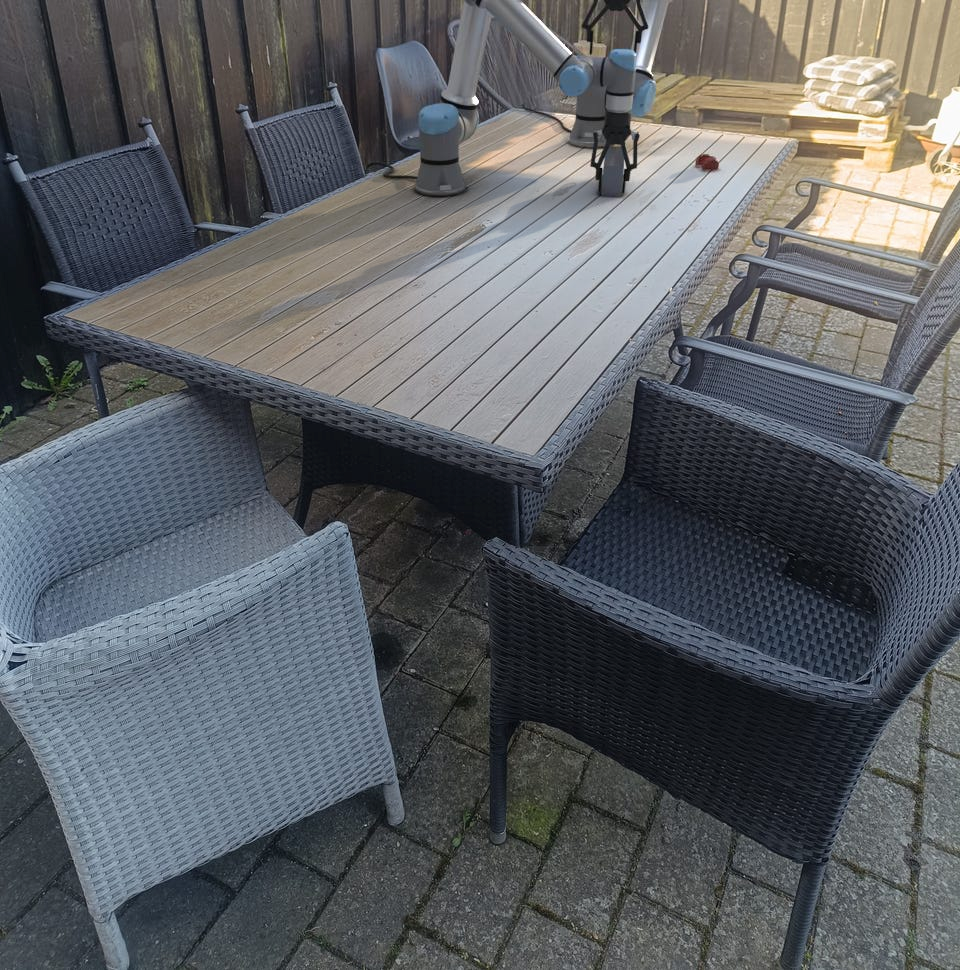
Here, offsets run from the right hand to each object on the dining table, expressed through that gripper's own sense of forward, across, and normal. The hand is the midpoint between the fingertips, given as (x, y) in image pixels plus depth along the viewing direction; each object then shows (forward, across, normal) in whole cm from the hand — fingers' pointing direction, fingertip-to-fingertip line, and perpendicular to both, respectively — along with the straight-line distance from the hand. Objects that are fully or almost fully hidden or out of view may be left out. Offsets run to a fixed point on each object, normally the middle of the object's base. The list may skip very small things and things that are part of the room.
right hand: (612, 54), depth 263 cm
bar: (+33, -3, +25) cm, 41 cm away
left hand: (+32, -3, +33) cm, 46 cm away
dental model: (+33, -34, 0) cm, 47 cm away
